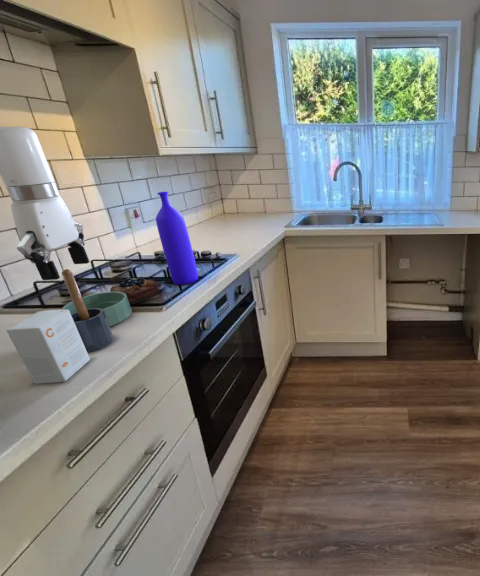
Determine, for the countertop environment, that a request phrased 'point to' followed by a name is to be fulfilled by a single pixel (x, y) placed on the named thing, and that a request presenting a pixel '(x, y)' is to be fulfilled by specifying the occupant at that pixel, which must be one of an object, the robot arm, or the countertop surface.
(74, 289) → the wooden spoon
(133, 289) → the pastry
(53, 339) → the small box
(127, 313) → the bowl
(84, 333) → the crock
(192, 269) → the bottle
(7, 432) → the countertop surface
